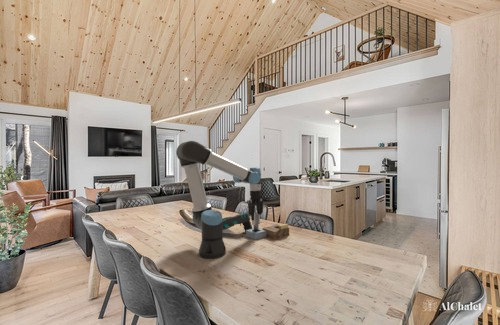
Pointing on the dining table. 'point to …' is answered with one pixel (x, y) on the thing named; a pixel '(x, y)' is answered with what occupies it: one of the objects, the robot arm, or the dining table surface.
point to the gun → (237, 221)
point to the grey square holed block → (256, 233)
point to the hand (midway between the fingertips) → (256, 224)
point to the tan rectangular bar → (283, 226)
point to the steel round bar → (256, 223)
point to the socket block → (276, 232)
